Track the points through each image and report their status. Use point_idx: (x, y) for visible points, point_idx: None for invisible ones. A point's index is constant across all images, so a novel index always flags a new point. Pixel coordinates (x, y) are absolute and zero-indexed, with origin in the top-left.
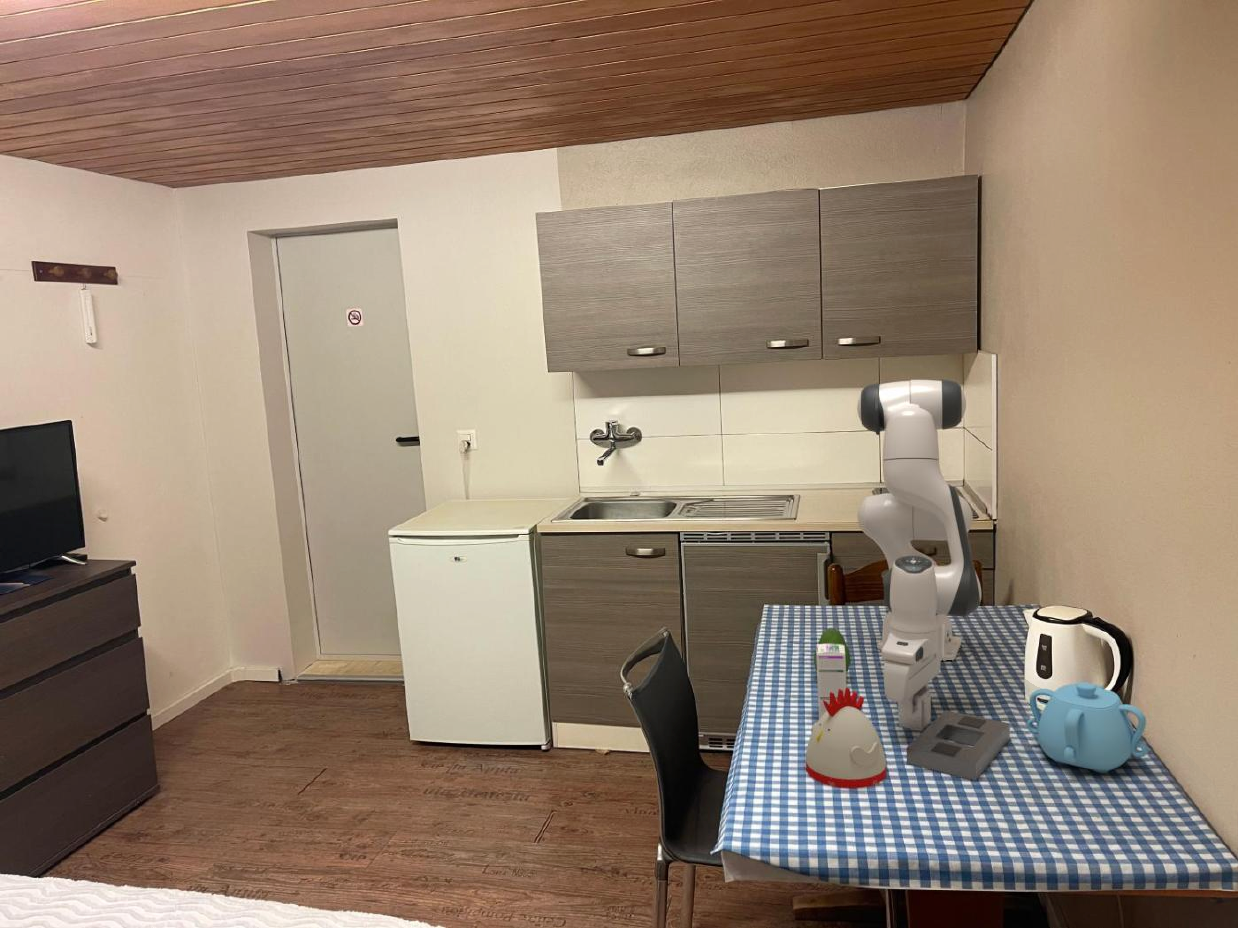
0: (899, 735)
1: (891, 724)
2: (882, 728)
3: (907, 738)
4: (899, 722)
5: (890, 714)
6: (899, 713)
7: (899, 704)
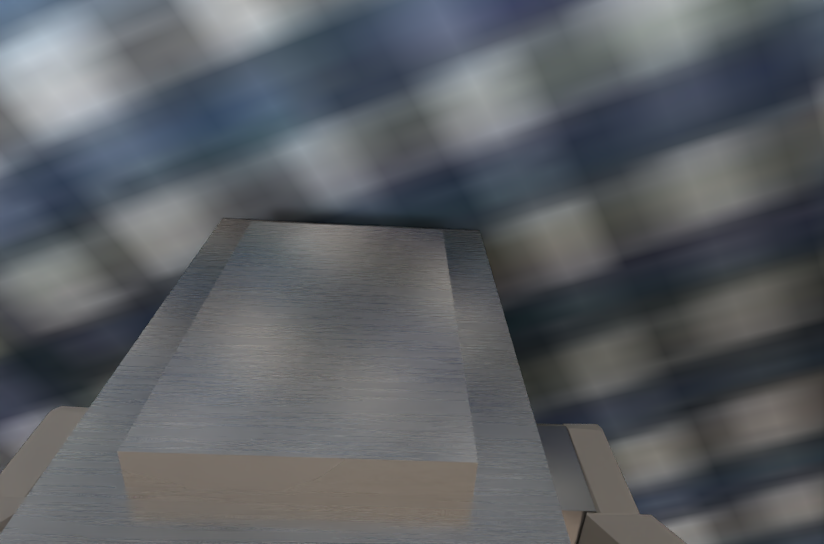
0: (5, 293)
1: (211, 131)
2: (30, 76)
3: (2, 370)
4: (207, 242)
5: (505, 11)
6: (171, 297)
7: (117, 380)
